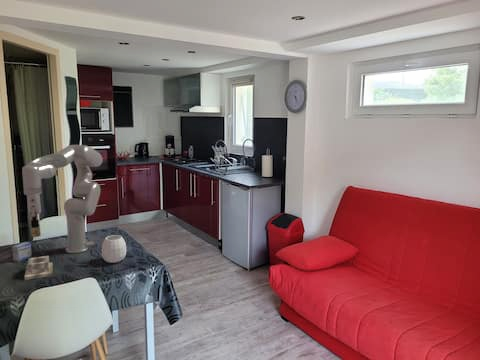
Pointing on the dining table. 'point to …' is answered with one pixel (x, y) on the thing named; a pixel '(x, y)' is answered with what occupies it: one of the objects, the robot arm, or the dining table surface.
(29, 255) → the medicine box
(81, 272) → the dining table surface
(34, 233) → the peg
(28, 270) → the socket stand
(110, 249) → the white faceted vase
